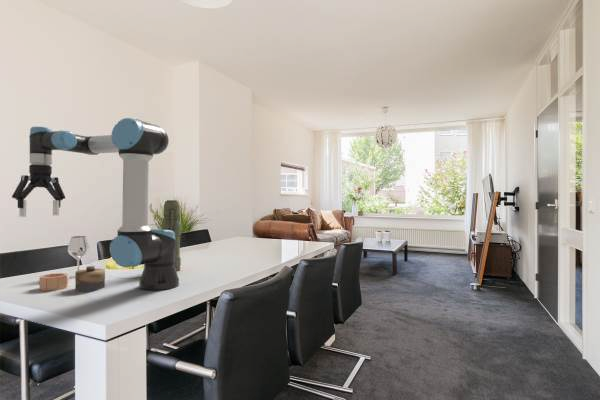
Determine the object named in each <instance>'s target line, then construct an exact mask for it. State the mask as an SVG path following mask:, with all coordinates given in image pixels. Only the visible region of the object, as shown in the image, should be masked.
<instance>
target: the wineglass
mask: <svg viewBox="0 0 600 400" xmlns="http://www.w3.org/2000/svg"><path fill="white" fill-rule="evenodd" d="M89 249H90V246H89V242H88V239H87V236H85V235H84V236H83V235H77V236H70V240H69V242H68V246H67V253H68V254H69V255H70V256H71V257H73V259H75V260H76V271H79V270H80V261H81V259H82V258H83V257H85V256H86V255H87V254H88V252H89ZM69 278H70V279H75V275H74V274H73V275H70V276H69Z"/></svg>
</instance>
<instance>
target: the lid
mask: <svg viewBox="0 0 600 400" xmlns="http://www.w3.org/2000/svg"><path fill="white" fill-rule="evenodd" d="M85 267H86V269H85V268H84V269H79V271H77V270H76V271H75V278H74V279H75V282H74V284H76V283H77V284H93V283H99V282H103V281H105V282H106V269H104V268H96V267H95V265H94V266H93V265H92V266H91V265H89V266H85Z"/></svg>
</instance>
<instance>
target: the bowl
mask: <svg viewBox="0 0 600 400" xmlns="http://www.w3.org/2000/svg"><path fill="white" fill-rule="evenodd" d="M68 284H69V273H66V272H65V273H64V272H56V273H55V272H54V273H47V274H42V275H40V276H39V290H40V291H42V292H51V291H52V292H53V291H58V290H59V291H60V290H64V289H67V288H68ZM66 287H67V288H66Z"/></svg>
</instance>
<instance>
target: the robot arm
mask: <svg viewBox="0 0 600 400" xmlns="http://www.w3.org/2000/svg"><path fill="white" fill-rule="evenodd" d="M168 146H169V135H168V133H167V132H166V131H165V129H163V128H162V127H161V126H159V125H156V124H152V123H149V122H146V121H143V120H141V119H139V118H131V117H127V118H126V117H125V118H121V119H120V120H119V121H118V122H117V123H116V124H115V125H114V127H113V128H112V131H111V134H108V135H92V136H90V135H89V136H88V135H87V136H85V135H81V134H75V133H73V132H72V131H70V130H56V131H55V130H54V131H53V129H51V128H50V127H47V126H32V127H30V129H29V167H28V168H29V169H28V173H29V175H27V174H26V175H21V176H20V181H19V183H18V184H17V186H16V189H14V192H13V194H12V195H11V198H12V199H15V200H16V201H17V208H18V209H19V213H18V214H19V215H18V216H19V218H20V217H21V218H22V217H23V218H24V217H27V199H26V198H27V197H28V195H30V193H32V191H34V189H35V188H44V189H46V190H47V192H48V193H49V194H50V195H51V196H52V197H53V199H54V200H52V216H60V208H61V205H62V204H61V201H63V200H64V199H66V196H65V195H66V194H65V193H64V191H63V188H62V187H61V184H60V183H59V182H60V181H59V177H58V176H57V177H55V176H54V177H52V171H53V170H52V169H53V167H52V166H51V165H53V151H62V152H63V151H66V152H70V153H71V152H72V153H78V154H85V155H89V156H92V155H93V156H97V155H99V154H109V153H110V154H113V153H118V157H119V158H121V159H122V214H121V215H122V219H121V220H122V223H121V224H122V225H121V226H119V228H118V229H117V236H115V237H114V238H113V239H112V241H111V242H110V244H109V254H110V257H111V259H112V260H113V262H115V264H117V266H120V267H122V268H135V267H138V266H141V265H142V266H143V265H144V266H143V270H142V273H141V277H140V279H139V282H138V283H139V285H138V289H141V290H146V291H160V290H162V291H163V290H169V289H174V288H177V287H178V286H179V285H180V278H179V277H178V272H176V269H175V241H176V239H175V233H174V232H173V231H171V230H162V229H156V228H155V229H154V228H151V227H150V226H149V224H148V221H149V162H150V160H152V159H153V157H154V155H160V154H161V153H164V151H165V150H167V148H168ZM29 181H30V182H29ZM28 182H29V183H28Z"/></svg>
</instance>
